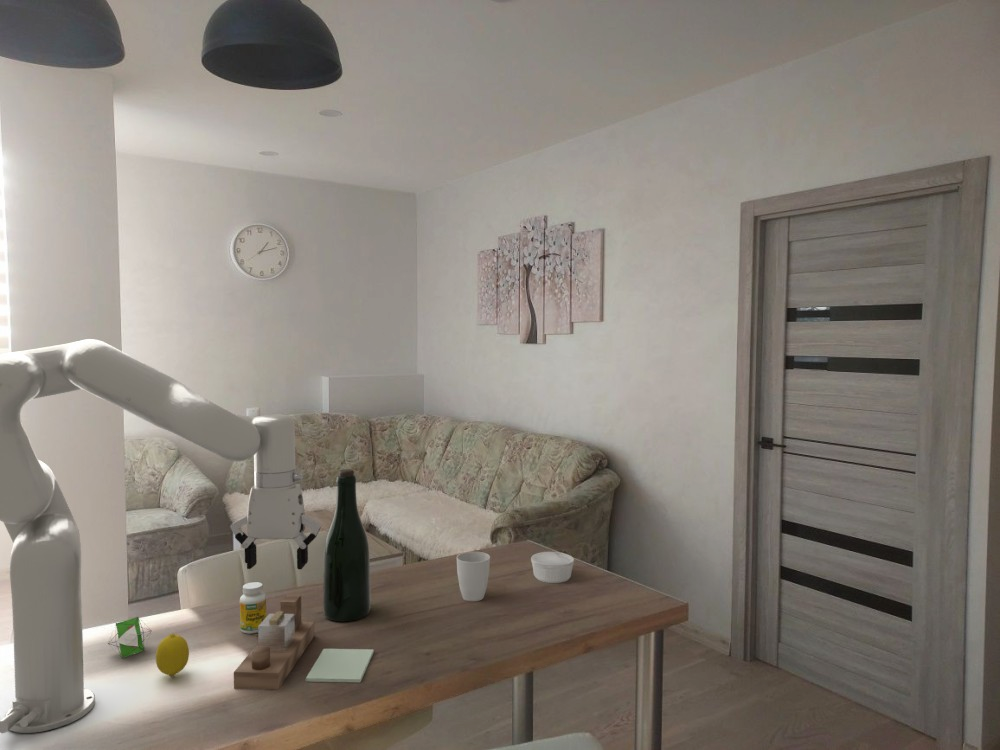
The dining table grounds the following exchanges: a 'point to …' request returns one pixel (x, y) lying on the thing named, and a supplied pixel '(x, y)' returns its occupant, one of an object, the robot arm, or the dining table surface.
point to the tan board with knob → (275, 654)
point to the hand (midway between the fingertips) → (276, 566)
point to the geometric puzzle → (129, 637)
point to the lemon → (172, 654)
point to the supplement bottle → (252, 607)
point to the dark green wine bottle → (346, 557)
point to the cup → (473, 574)
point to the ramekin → (552, 566)
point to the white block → (277, 631)
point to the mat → (340, 665)
